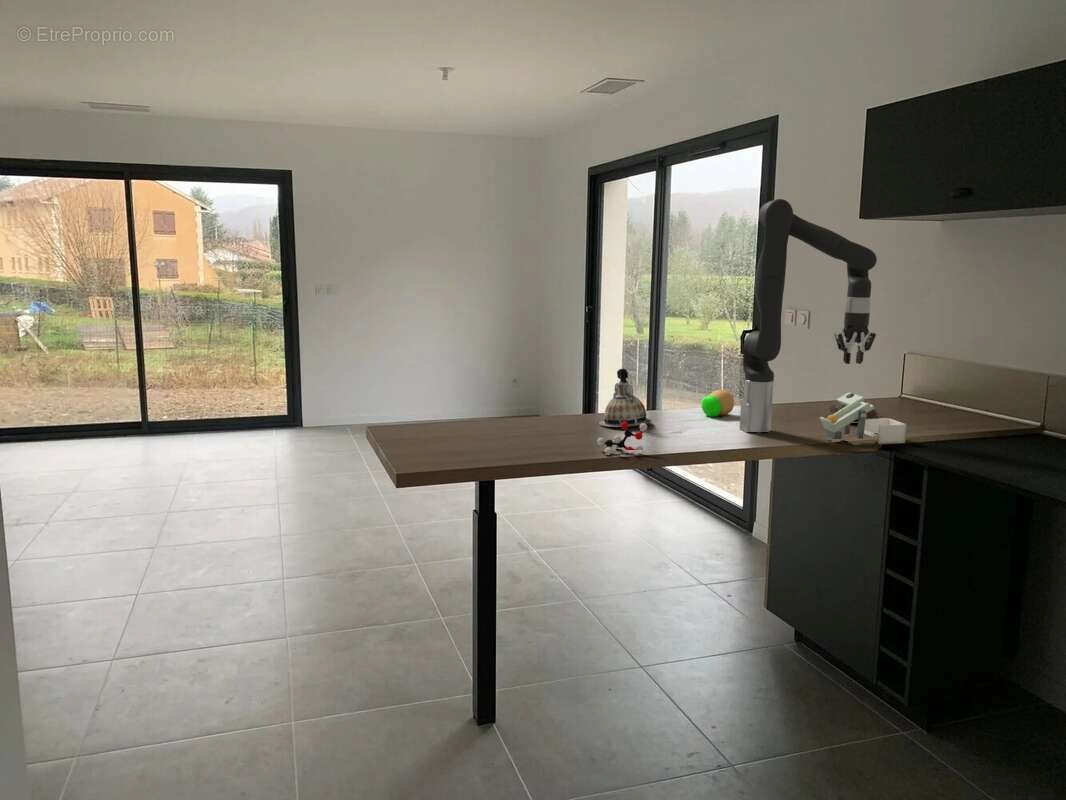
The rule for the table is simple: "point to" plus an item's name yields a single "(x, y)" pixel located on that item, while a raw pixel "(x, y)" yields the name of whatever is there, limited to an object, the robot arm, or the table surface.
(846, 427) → the fulcrum
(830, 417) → the ball
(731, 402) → the green and tan spheres
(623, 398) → the figurine
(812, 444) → the table surface
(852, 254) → the robot arm
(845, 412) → the lever
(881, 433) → the white open box
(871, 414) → the turtle shell
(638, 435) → the molecular model
